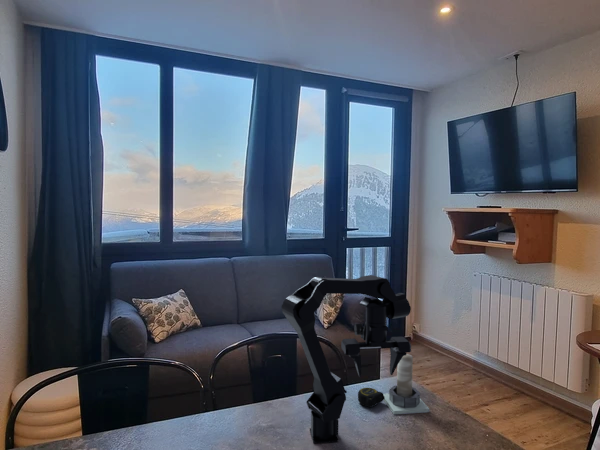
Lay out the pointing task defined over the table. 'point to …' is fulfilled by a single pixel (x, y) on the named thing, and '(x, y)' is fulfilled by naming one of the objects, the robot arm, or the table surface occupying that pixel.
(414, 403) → the collar
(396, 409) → the collar board
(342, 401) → the robot arm
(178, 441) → the table surface
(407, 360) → the peg
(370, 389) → the tape measure
